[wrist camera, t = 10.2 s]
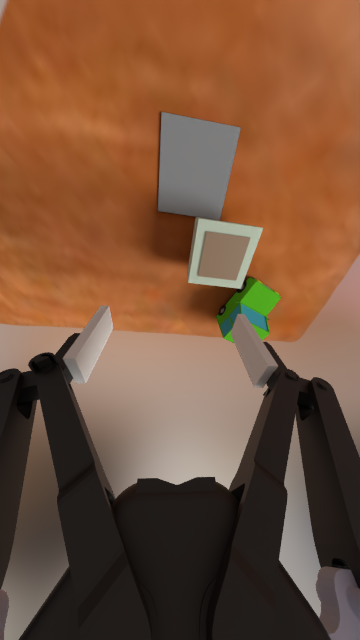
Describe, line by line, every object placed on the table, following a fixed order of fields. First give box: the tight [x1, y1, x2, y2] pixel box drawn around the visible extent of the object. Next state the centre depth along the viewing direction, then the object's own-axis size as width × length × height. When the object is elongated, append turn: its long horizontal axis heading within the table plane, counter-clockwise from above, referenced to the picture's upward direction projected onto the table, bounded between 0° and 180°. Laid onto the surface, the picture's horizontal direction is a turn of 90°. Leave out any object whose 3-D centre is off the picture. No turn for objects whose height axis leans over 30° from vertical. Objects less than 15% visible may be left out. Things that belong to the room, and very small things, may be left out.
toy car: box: [216, 277, 281, 343], centre depth 38 cm, size 10×13×10 cm
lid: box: [187, 217, 263, 289], centre depth 28 cm, size 10×10×5 cm
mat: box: [158, 112, 241, 220], centre depth 27 cm, size 12×12×1 cm
